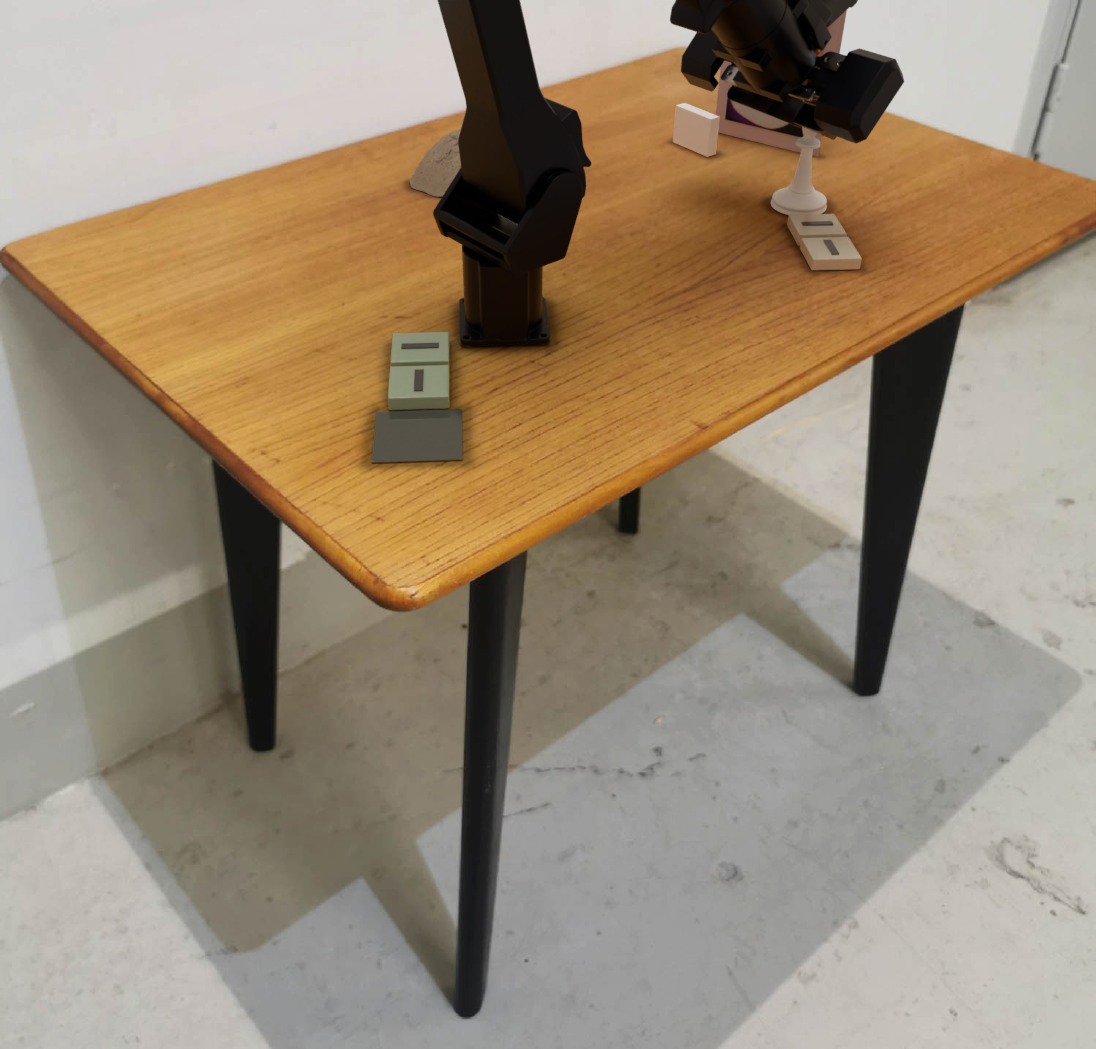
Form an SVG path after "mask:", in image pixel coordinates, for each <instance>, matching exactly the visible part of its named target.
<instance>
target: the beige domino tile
mask: <svg viewBox="0 0 1096 1049" xmlns="http://www.w3.org/2000/svg"><path fill="white" fill-rule="evenodd" d="M787 217H788V218H787V222H786V227H787V229H788V230H789V232H790V234H791V235H792V238H793V240H794V241H795V243H796V245H797V246H798V247H799V250H800V252H801V254H802V256H803V257H804V259H805V261H806V263H807V265H808V266H809V268H810V270H811V271H841V270H843V271H845V270H860V269H861V265H862V261H863V258H862V256H861V254H860V253H859V251H858V250H857V248H856V247H855V245H854V243H853V241H852V240H851V239H850V237H849V236H847V235H848V234H847V232H846V230H845V229H844V227H843V226H842V224H841V222H840V220H839V219H838V217H837V216H836V215H835V213H822V214H800V215H787Z"/></svg>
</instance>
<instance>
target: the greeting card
mask: <svg viewBox="0 0 1096 1049" xmlns="http://www.w3.org/2000/svg"><path fill="white" fill-rule="evenodd" d="M847 11H848V9H847V10H846V11H845V12H844V13H843V14H842V15H841V16H840V17H839V18H837V19H836V20H835V21H834V22H833V23H832V24H831V25H830V26H828V27H827V29H828V31H829V33H830V35H831V36H832V38H831V39H830V41H829V42H828V44H827V45H826V47H825V48H824V50H819V49H818V50H817V52H816V53H815V55H816V56H822V55H823V54H825V53H826V52H830V51H831V52H836V53H839V54H841V47H842V41H843V36H844V29H845V23H846V18H847ZM728 65H732V63H730V62H727V61H724V62H723V64H722V65H721V67H720V68H719V79H718V82H719V84H718V87H717V88H718V89H717V99H716V106H715V107H716V109H715V115H717V116H719V117H720V121H719V131H718V134H723V135H726V136H730V137H735V138H740V139H742V140H747V141H752V142H755V143H760V144H764V145H767V146H771V147H776V148H780V149H785V150H788V151H792V152H797V153H800V154H801V150H802V148H800V147H798V146H797V145H796V141H797V139H798V138H801V137H803V131H802V128H799V127H797V126H794V125H792V124H789V123H787V122H784V121H782V120H779V119H777V118H774V117H772V116H769V115H766V114H764V113H761V112H759V111H756V110H754V109H751V108H749V107H746V106H744V105H741V104H739V103H736V102H733V101H731V100H729V99H728V97H727V92H728V90H729V89H730V87H731V86H730V84H729V83H726V82H723V81H722V80H721V75H722V74H723V72H724V71H725V69H726V68H727V66H728ZM818 69H819V68H818ZM803 102H804V100H803ZM804 103H805V102H804ZM822 136H823V135H820V134H818V133H817V134H816V136H815V138H816V139H818V140H819V141H820V144H821V143H822ZM821 145H822V144H821ZM820 150H821V146H820V147H819V148H817V149H813V156H812V157H817V158H818V157H819V155H820Z"/></svg>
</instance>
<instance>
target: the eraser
mask: <svg viewBox="0 0 1096 1049" xmlns="http://www.w3.org/2000/svg"><path fill="white" fill-rule="evenodd" d="M674 107H675V110H674V121H673V132H672V133H673V134H672V143H673V144H676V145H679V146H680V147H683V148H684V149H685V148H686V149H688V150H690V151H692V152H695V153H697V154H699V155H701V156H704V157H706V158H709V157H711V156H715V155H717V149H718V148H717V147H718V139H719V133H718V131H719V121H720V117H719V116H717V115H716V114H714V113H712V112H710V111H707V110H704V109H701V108H699V107H697V106H694V105H692V104H689V103H687V102H682V103H678V104H676V105H675V106H674Z"/></svg>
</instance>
